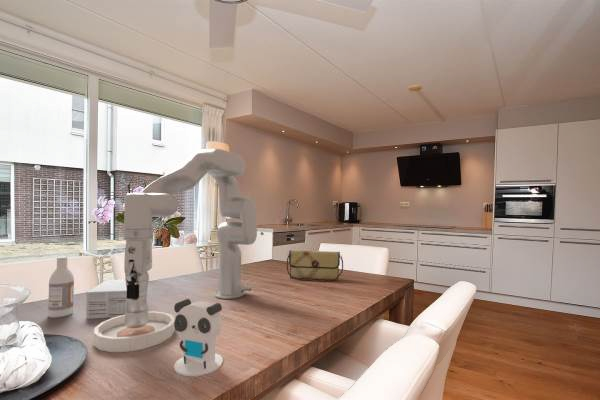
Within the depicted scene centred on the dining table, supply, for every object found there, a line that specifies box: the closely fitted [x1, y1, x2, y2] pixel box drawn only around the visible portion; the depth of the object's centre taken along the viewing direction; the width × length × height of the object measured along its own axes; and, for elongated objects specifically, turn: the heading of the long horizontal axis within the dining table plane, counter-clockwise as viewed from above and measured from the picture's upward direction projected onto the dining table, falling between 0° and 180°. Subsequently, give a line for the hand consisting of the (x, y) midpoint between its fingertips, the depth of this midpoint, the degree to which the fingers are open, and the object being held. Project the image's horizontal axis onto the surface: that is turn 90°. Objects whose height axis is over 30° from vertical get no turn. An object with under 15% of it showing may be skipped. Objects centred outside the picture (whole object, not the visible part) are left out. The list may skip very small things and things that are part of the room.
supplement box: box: [85, 279, 127, 320], centre depth 117 cm, size 17×13×9 cm
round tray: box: [93, 311, 176, 353], centre depth 94 cm, size 21×21×4 cm
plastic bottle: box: [124, 271, 150, 328], centre depth 95 cm, size 6×7×20 cm
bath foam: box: [47, 256, 75, 319], centre depth 111 cm, size 7×7×20 cm
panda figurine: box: [173, 298, 223, 377], centre depth 78 cm, size 12×11×15 cm
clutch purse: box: [286, 249, 344, 283], centre depth 167 cm, size 30×7×15 cm, turn 84°
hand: (137, 294), depth 95 cm, fingers closed on plastic bottle, 6 cm apart
